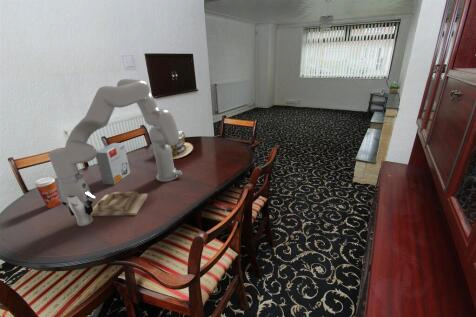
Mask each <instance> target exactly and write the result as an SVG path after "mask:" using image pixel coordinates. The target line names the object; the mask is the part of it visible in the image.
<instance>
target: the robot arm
mask: <svg viewBox="0 0 476 317" xmlns="http://www.w3.org/2000/svg"><path fill="white" fill-rule="evenodd" d="M133 104H137V106H138V108H139V110H140V113H141V114H142V116H143V119H144V122H145V123H146V124H147V125H148V126H151V128H150V129H149V132H148V133H149V134H148V136H149V140H150V143H151V145H152V148H153V152H154V158H155V163H156V169H157V175H155V176H156V177H155V178H156V181H159V182H162V183H164V182H165V183H167V182H172V181H174V180H175V179H177V178H178V177H179V176H181V175H182V176H183V171H181V169H180V170H177V168H176V167H175V165H174V159H173V156H172V150H171V146H172V145H175V144H177V143H178V141H179V132H178V131H179V129H178V127H177V123H176V121H175V118H174V116H173V115H172V114H173V113H172V112H170V111H169V110H168V109H164V108H159V106H158V104H157V103H156V100H155V98H154V96H153V95H152V93H151V91H150V86H149V84H148V83H147V82H146V81H144V80H141V79H132V78H130V79H129V78H123V79H120V80H119V81H117V83H116V86H112V85H104V86H100V87H99V88H98V89H97V91H96V93H95V95H94V97H93V99H92V102H91V103H90V106H89V108H88V110H87V112H86V115H85V116H84V117H83V118H82V119H81V120H80V121H78V123H77V124H76V125H75V127H73V129H72V130H71V132H70V133H69V136H68V137H67V140H66V142H65V146H64V147H58V148H56V149H55V148H54V149H52V150H50V151H49V153H48V157H49V161H50V162H51V164H52V165H51V166H52V168H53V170H54V173H55V176H56V179H57V180H58V184H57V186H58V191H59V195H60V196H59V199H58V201H60V202H61V203H60V204H63V205H64V206H65V207H66V208H67V209H68V210H69V213H70V215H71V216H75V215H74V213H73V212H72V210H71V209H70V207H69V204H68V201H67V197H75V196H77V197H78V199H79V200H80V201H81V203H84V205H85V206H86V208H85V209H86V212H87V215H90V214H91V213H92V212H93V208H94V207H93V205H92V204H94V203H95V201H96V199H97V197H96V196H95V195H93V194H92V192H91V190H90V189H91V188H90V187H89V184H88V183H87V182H86V180H85V178H84V176H83V174H81V173H80V171H79V167H78V165H79V164H84V163H88V162H91V161H93V160H94V159H96V155H97V151H98V150H97V149H96V147H95V146H94V145H92V144H89V143H87V142H88V141H89V139H90V137H91V136H92V135H93V133H95V132H96V131H98V130H100V129H103V128H104V127H106V126H108V124H109V122H110V119H111V116H112V115H113V113H114V111H115V108H119V109H120V108H124V107H128V106H132V105H133ZM66 196H67V197H66ZM86 201H88V203H87V202H86Z"/></svg>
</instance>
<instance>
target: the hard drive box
mask: <svg viewBox="0 0 476 317" xmlns="http://www.w3.org/2000/svg"><path fill="white" fill-rule="evenodd" d="M95 159H96V163H97V165H98V169H99V173H100V177H101V179H102V180H101V181H102V184H103V185H114V186H115V185H116V184H118V183H119V182H120V181H121V180H123V179H124V178H126V177H127V176H128V175H130V174H131V169H130V165H129V161H128V156H127V151H126V146H125V143H121V142H112V143H110V144H108V145H106V146H104V147H102V148H101V149H99V150H97V155H96V157H95Z"/></svg>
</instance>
